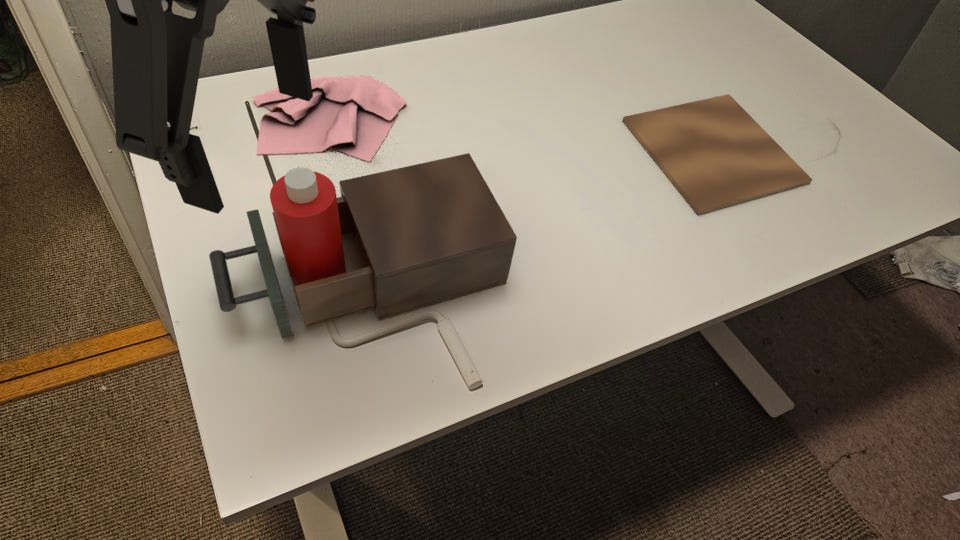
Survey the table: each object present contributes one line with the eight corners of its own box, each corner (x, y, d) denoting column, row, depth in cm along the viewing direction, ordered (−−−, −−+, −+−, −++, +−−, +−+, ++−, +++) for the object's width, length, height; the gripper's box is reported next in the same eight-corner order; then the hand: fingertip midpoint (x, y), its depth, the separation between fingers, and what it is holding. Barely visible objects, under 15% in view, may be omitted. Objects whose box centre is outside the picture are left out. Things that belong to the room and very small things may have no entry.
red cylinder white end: (352, 288, 67) (341, 193, 55) (297, 303, 65) (273, 208, 53) (338, 247, 70) (324, 149, 58) (285, 260, 68) (259, 162, 56)
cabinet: (378, 321, 67) (375, 275, 60) (345, 231, 74) (339, 180, 67) (506, 283, 72) (517, 237, 65) (463, 202, 79) (469, 152, 72)
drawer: (234, 353, 62) (218, 318, 57) (215, 261, 69) (198, 221, 63) (414, 301, 68) (414, 265, 63) (380, 221, 74) (378, 182, 69)
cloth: (424, 99, 90) (424, 85, 88) (343, 192, 78) (342, 178, 76) (307, 54, 94) (305, 40, 92) (212, 136, 81) (207, 121, 80)
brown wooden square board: (809, 183, 88) (812, 179, 87) (697, 215, 82) (700, 211, 81) (727, 98, 98) (729, 93, 97) (622, 120, 92) (623, 116, 91)
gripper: (236, -253, 38) (288, 47, 55) (-115, -98, 23) (104, 246, 40) (347, -227, 37) (365, 69, 54) (56, -50, 23) (206, 281, 40)
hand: (254, 145), depth 47 cm, fingers open, 13 cm apart
